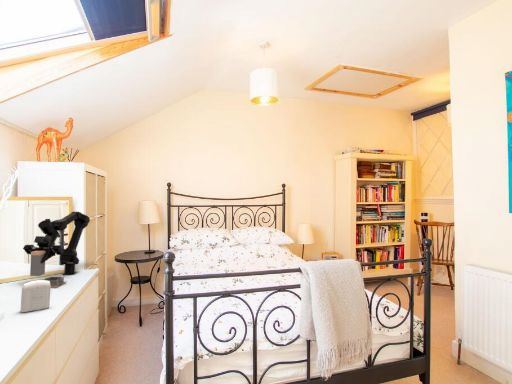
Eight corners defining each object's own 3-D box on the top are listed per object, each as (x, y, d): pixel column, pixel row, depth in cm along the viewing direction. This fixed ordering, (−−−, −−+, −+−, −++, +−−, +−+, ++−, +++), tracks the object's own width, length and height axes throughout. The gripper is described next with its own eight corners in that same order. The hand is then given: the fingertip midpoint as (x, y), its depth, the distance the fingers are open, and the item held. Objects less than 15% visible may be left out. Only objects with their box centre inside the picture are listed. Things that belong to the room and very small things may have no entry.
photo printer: (48, 305, 137) (49, 277, 137) (50, 308, 134) (51, 279, 134) (19, 310, 130) (21, 281, 130) (21, 313, 126) (22, 283, 127)
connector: (35, 273, 165) (36, 250, 165) (44, 273, 166) (45, 250, 166) (30, 275, 161) (31, 252, 161) (39, 276, 161) (40, 252, 161)
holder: (48, 283, 171) (49, 276, 171) (65, 283, 171) (66, 276, 171) (38, 288, 162) (39, 280, 162) (56, 288, 162) (57, 280, 163)
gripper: (26, 229, 167) (10, 254, 156) (61, 230, 168) (48, 254, 157) (34, 242, 174) (20, 265, 163) (68, 242, 176) (56, 266, 165)
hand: (36, 263), depth 162 cm, fingers closed on connector, 5 cm apart
